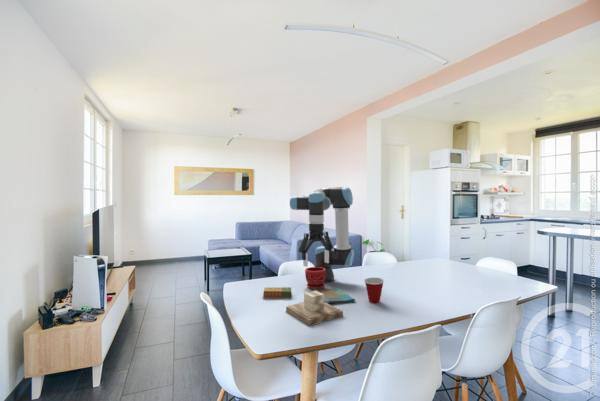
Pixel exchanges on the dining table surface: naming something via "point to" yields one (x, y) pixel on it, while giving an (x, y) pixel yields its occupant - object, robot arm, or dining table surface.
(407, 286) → the dining table surface
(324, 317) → the board
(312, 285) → the plant pot
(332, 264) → the robot arm
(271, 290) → the carton
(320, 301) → the cube
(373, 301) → the plastic cup
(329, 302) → the teal book
